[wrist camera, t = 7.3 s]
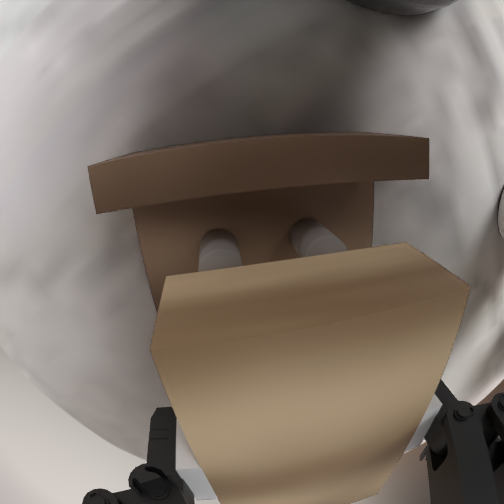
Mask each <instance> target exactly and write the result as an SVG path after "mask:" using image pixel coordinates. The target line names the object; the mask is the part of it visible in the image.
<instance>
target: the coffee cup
mask: <svg viewBox="0 0 504 504" xmlns="http://www.w3.org/2000/svg"><path fill="white" fill-rule="evenodd" d="M498 226H499V231H500V234H501V236H502V237H503V239H504V191H503V193H502V197H501V201H500V205H499V212H498Z"/></svg>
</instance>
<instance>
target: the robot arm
mask: <svg viewBox="0 0 504 504" xmlns="http://www.w3.org/2000/svg"><path fill="white" fill-rule="evenodd" d="M347 1H350V2H352V3H355V4H358V5H360V6H363V7H366V8H370V9H373V10H377V11H381V12H385V13H390V14H397V15H420V14H425V13H428V12H431V11H434V10H437V9H439V8H442V7H445V6H448V5H450V4H452V3H454V2H456V1H457V0H347ZM498 435H499V436H500V438H501V440H500V439H499V438H498ZM424 438H425V440H426V441H427V443H428V444H427V446H426V447H425V449H424V451H423V452H422V454H421V455H420V461H422V460H423V458H424V457H425V455H426V460H427V468H428V477H429V486H430V497H431V504H504V393H498V394H496V395H495V396H494V397H493V399H492V400H491V402H490V403H486V404H482V405H477V406H473V405H471V404H470V403H468V402H465V401H458V400H457V399H456V398H455V396H454V395H453V394H452V393H451V391H450V390H449V389H448V388H447V386H446V385H445V384H444V383H443V381H442V380H441V379H440V382H439V384H438V386H437V389H436V391H435V393H434V395H433V398H432V400H431V402H430V404H429V406H428V408H427V410H426V412H425V414H424V416H423V418H422V420H421V422H420V424H419V426H418V428H417V430H416V432H415V433H414V435H413V437H412V439H411V441H410V443H409V444H408V446H407V448H406V450H405V451H404V452H406V451H409V450H411V449H413V448H415V447H418V446H420V444H421V442H422V441H423V439H424ZM128 480H129V487H131V489H129V490H125V491H121V492H116V493H111V492H110V491H108V490H105V489H94V490H92V491H90V492H88V493H87V494H86V496H85V497H84V499H83V503H82V504H194V497H195V498H196V499H197V500H209V499H218V498H217V496H216V494H215V492H214V491H213V489H212V487H211V485H210V483H209V481H208V480H207V478H206V476H205V474H204V472H203V470H202V468H201V467H200V465H199V463H198V461H197V459H196V457H195V455H194V453H193V451H192V449H191V447H190V445H189V443H188V441H187V439H186V437H185V435H184V433H183V430H182V428H181V426H180V424H179V422H178V419H177V417H176V415H175V413H174V410H173V408H172V407H162V408H157V409H156V411H155V412H154V414H153V416H152V417H151V423H150V433H149V443H148V454H147V463H146V464H142V465H140V466H138V467H136V468H135V469H134V470H133V471H132V472H131V473H130V476H129V479H128Z"/></svg>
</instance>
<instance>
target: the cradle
mask: <svg viewBox="0 0 504 504" xmlns="http://www.w3.org/2000/svg"><path fill="white" fill-rule="evenodd" d="M88 172H89V178H90V183H91V189H92V194H93V199H94V204H95V209H96V214H101V213H106V212H111V211H117V210H122V209H128V208H132V209H133V214H134V219H135V224H136V229H137V234H138V238H139V243H140V247H141V252H142V256H143V260H144V265H145V269H146V273H147V277H148V281H149V285H150V289H151V293H152V296H153V300H154V304H155V307H156V311H157V313H158V309H159V304H160V300H161V296H162V292H163V287H164V283H165V279H166V276H172V275H179V274H187V273H194V272H202V271H209V270H217V269H224V268H232V267H239V266H246V265H253V264H260V263H268V262H275V261H282V260H289V259H296V258H303V257H310V256H317V255H324V254H330V253H337V252H344V251H351V250H357V249H364V248H371V247H372V235H373V212H374V181H387V180H414V179H429V138H422V137H413V136H404V135H393V134H381V133H367V132H320V133H293V134H276V135H261V136H249V137H239V138H229V139H220V140H211V141H204V142H196V143H189V144H182V145H175V146H169V147H163V148H157V149H151V150H146V151H141V152H135V153H130V154H126V155H123V156H120V157H116V158H113V159H110V160H106V161H103V162H100V163H97V164H94V165H91V166H88Z"/></svg>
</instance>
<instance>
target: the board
mask: <svg viewBox="0 0 504 504" xmlns="http://www.w3.org/2000/svg"><path fill="white" fill-rule="evenodd" d="M470 288H471V286H469V285H468V284H467V283H465V282H464V281H463V280H461V279H460V278H458V277H457V276H456V275H454V274H453V273H451V272H450V271H448V270H447V269H446V268H444V267H443V266H441V265H440V264H438V263H437V262H435V261H434V260H432V259H431V258H429V257H428V256H426V255H425V254H423V253H422V252H420V251H419V250H417V249H416V248H414V247H413V246H411V245H410V244H408V243H407V242H403V243H397V244H390V245H384V246H377V247H371V248H364V249H357V250H351V251H344V252H337V253H330V254H324V255H317V256H310V257H303V258H296V259H289V260H282V261H275V262H268V263H260V264H253V265H246V266H239V267H232V268H224V269H217V270H209V271H202V272H194V273H187V274H179V275H172V276H166V279H165V283H164V287H163V292H162V296H161V300H160V304H159V309H158V313H157V318H156V322H155V327H154V332H153V336H152V341H151V346H150V352H151V355H152V357H153V360H154V363H155V366H156V368H157V371H158V373H159V376H160V379H161V381H162V384H163V386H164V389H165V391H166V394H167V396H168V398H169V401H170V403H171V406H172V408H173V410H174V413H175V415H176V417H177V419H178V422H179V424H180V426H181V428H182V430H183V433H184V435H185V437H186V439H187V441H188V443H189V445H190V447H191V449H192V451H193V453H194V455H195V457H196V459H197V461H198V463H199V465H200V467H201V468H202V470H203V472H204V474H205V476H206V478H207V480H208V481H209V483H210V485H211V487H212V489H213V491H214V492H215V494H216V496H217V498H218V500H219V502H220V503H221V504H351V503H353V502H357V501H360V500H362V499H365V498H368V497H371V496H373V495H376V494H378V492H379V491H380V489H381V488H382V486H383V485H384V484H385V482H386V480H387V479H388V478H389V476H390V474H391V473H392V471H393V469H394V468H395V466H396V465H397V463H398V462H399V460H400V458H401V457H402V455H403V453H404V451H405V450H406V448H407V446H408V444H409V443H410V441H411V439H412V437H413V435H414V433H415V432H416V430H417V428H418V426H419V424H420V422H421V420H422V418H423V416H424V414H425V412H426V410H427V408H428V406H429V404H430V402H431V400H432V398H433V395H434V393H435V391H436V389H437V386H438V384H439V382H440V379H441V377H442V374H443V372H444V369H445V367H446V364H447V362H448V359H449V356H450V354H451V351H452V348H453V345H454V342H455V339H456V336H457V333H458V330H459V327H460V324H461V321H462V317H463V314H464V311H465V307H466V303H467V300H468V296H469V292H470Z"/></svg>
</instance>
